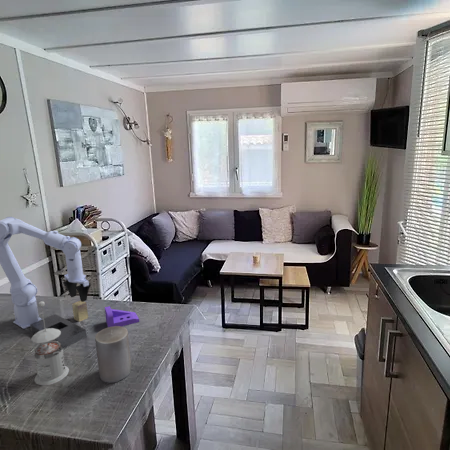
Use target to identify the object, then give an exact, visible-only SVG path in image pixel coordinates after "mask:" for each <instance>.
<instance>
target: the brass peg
mask: <svg viewBox="0 0 450 450" xmlns="http://www.w3.org/2000/svg"><path fill="white" fill-rule="evenodd" d="M71 306H72V314H73V320H75V321H77V322H79V323H80V322H82V321H84V320H86V319H89V313H88V305H87V302H86V301H83V302H81V300H78V301H76V302H74V303H73V302H72V303H71Z"/></svg>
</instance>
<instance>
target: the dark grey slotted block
mask: <svg viewBox="0 0 450 450" xmlns="http://www.w3.org/2000/svg"><path fill="white" fill-rule="evenodd" d="M41 319H42V320H40V321H37V322H35V323H32V324H30V332H32V333H33V334H36V333H37V332H39V331H41V330H44V329H45V328H46V329H48V328H54V329H58V330H60V331H61V334H60V336H59V337H58V338H57V339H55V340H54V341H58V342H60V343H61V347H62V349H65V348H67V347H69V346H71V345H73V344H75V343H77V342H79V341H81V340H83V339H85V338H87V329H85V328H83V327H81V326H80V325H77V324H75V323H74V322H71V321H70V320H67V319H65V318H64V317H61V316H60V315H58V314H56V313H55V314H52V315H50V316H47V317H44V321H43V318H41ZM44 322H45V328H44ZM59 350H61V349H60V348H59Z"/></svg>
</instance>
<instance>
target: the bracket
mask: <svg viewBox="0 0 450 450" xmlns="http://www.w3.org/2000/svg"><path fill="white" fill-rule="evenodd" d="M104 313H105V315H104V316H105V322H106V325H107V328H108V327H113V326H121V327H125V326H129V325H134V324H136V323H139V322H140V319H139V316H138V315H137V313H136V312H134V311H128V310H122V309H113V308H111V306H110V305H109V306H105V307H104Z"/></svg>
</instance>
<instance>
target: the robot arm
mask: <svg viewBox="0 0 450 450" xmlns="http://www.w3.org/2000/svg"><path fill="white" fill-rule="evenodd" d="M18 234H23V235H27V236H29V237H32V238H36V239H39V240H42V241H43V242H44V244H45V245H47V246H50V247H53V248H55V249H58V250H60V251H62V252H63V254H64V255H65V262H66V271H67V274H64V275H63V276H64V280H65V281H63V282H62V283H63V284H62V285H64V286H65V288H66V289H67V291H68V294H69V295H70V296H69V297H70V298H74V297H77V294H78V295H79V299H80V300H81V302H83V301H84V302H86V301H87V299H88V295H89V291H90V288H91V286H92V285H91V282H90V281H89V280H88V279H86V277H87V275H86V274H84V269H83V261H82V254H81V248H82V241H81V240H80V239H79V238H78V237H76V236H72V237H71V236H69V235H67V236H66V235H64V234H61V233H59V231H58V230H50V231H45V230H43V229H41V228H39V227H36V226H34V225H32V224H30V223H27V222H25V221H24V220H22V219H20V218H16V217H14V216H7V217H5V218H3V219H0V266H1V268H2V271H3V272H4V274H5V276H6V278H7V280H8V282H9V283H10V288H9V293H10V295H11V298H10V299H11V302H12V304H14V305H13V314H14V319H15V320H13V324H15V325H17V326H18V327H20V328H22V329H24V330H25V329H27V328H29V327H30V324H32V323H35V322H37V321H40V320H42V319H43V318H41V317H40V316H39V309H38V308H39V307H38V303H37V298H36V295H37V294H38V290H39V289H38V287H37V286H36V285H35V284H34V283H33V282H32V281H31V279H30V278H27V277H26V276H25V274H24V271H22V268H21V266H20V265H19V262H18V260H17V258H16V256H15V255H14V252H13V251H12V249H11V247H10V245H9V241H10V240H11V237H12V236H14V235H18ZM89 282H90V283H89ZM78 284H79V285H78ZM77 292H78V293H77ZM80 300H79V301H80ZM30 328H31V327H30Z"/></svg>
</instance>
